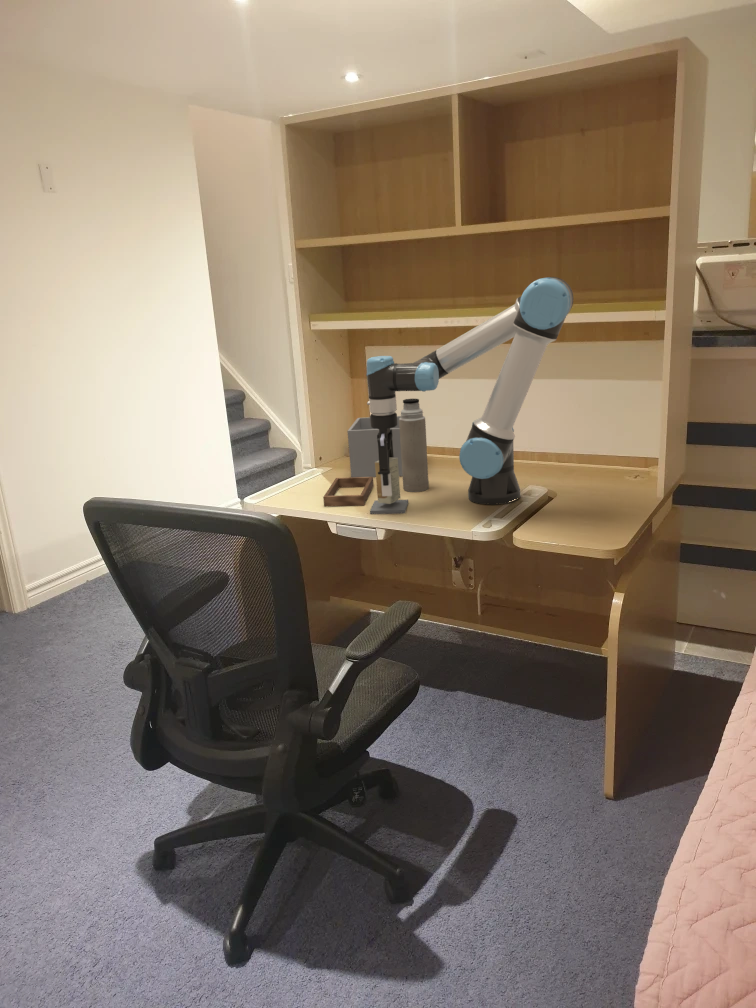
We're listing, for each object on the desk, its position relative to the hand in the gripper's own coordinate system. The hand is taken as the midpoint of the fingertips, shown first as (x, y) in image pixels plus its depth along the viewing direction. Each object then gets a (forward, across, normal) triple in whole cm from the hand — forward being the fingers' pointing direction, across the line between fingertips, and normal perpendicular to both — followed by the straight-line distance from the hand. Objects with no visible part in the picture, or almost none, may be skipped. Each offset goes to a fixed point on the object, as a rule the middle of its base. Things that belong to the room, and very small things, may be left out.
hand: (388, 491), depth 222 cm
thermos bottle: (+5, -20, +6) cm, 22 cm away
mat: (+5, 0, 0) cm, 5 cm away
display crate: (+5, -46, -6) cm, 47 cm away
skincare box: (+3, 0, 0) cm, 3 cm away
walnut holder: (+5, -14, -14) cm, 20 cm away
